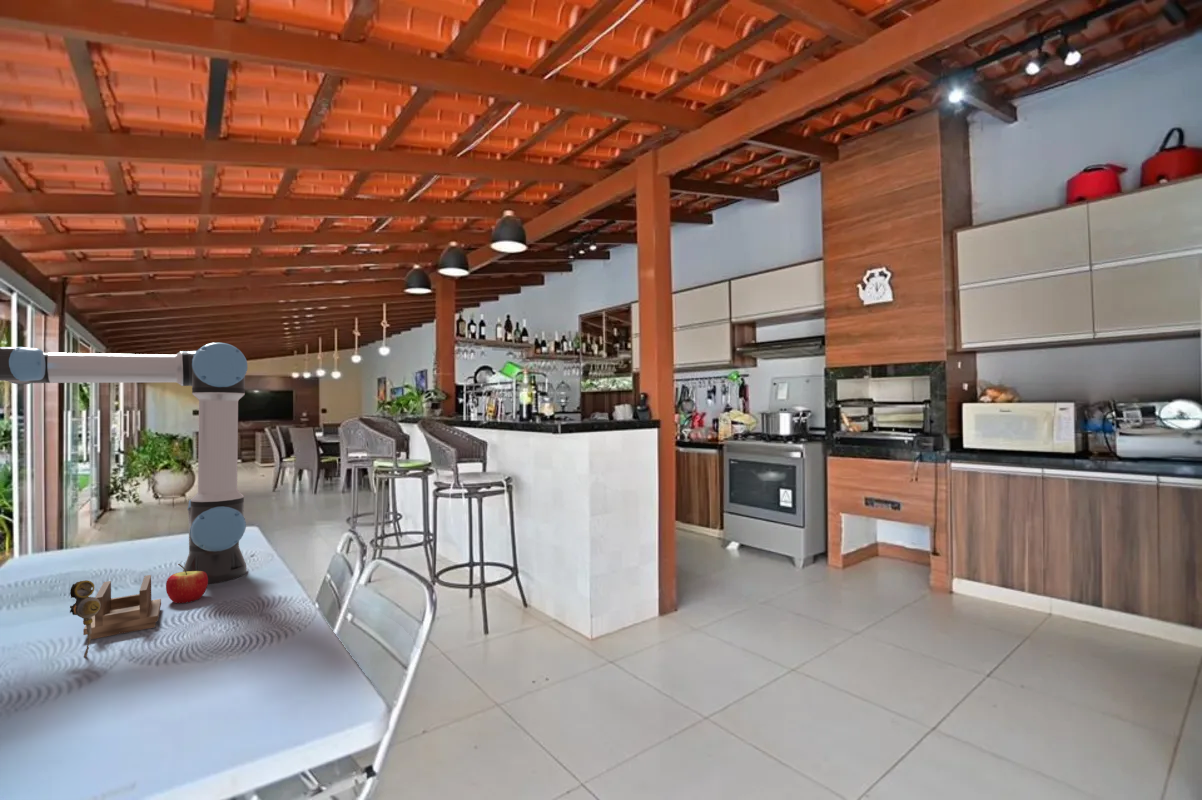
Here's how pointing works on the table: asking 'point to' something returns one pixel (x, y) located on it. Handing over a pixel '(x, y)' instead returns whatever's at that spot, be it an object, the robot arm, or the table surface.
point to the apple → (186, 586)
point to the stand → (124, 611)
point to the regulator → (84, 605)
